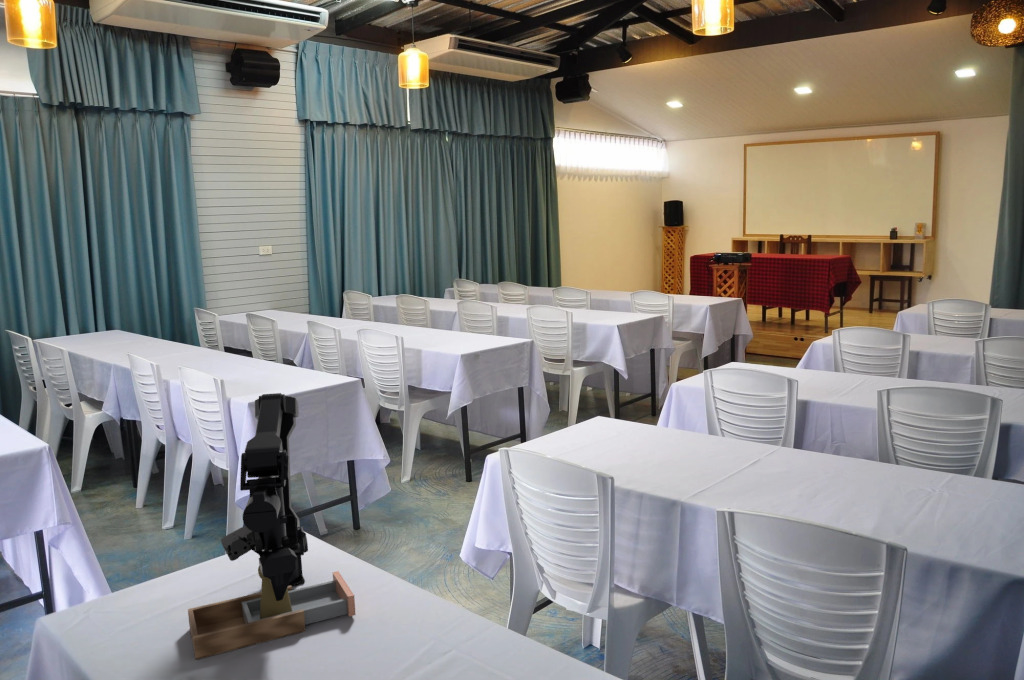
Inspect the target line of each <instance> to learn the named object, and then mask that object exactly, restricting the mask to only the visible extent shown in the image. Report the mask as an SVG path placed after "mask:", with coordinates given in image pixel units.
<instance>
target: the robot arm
mask: <svg viewBox="0 0 1024 680" xmlns="http://www.w3.org/2000/svg"><path fill="white" fill-rule="evenodd" d="M297 418H299V403H298V400H297V398H296V397H294V396H290V395H289V396H288V395H286V394H285V393H281V392H277V393H264V394H261V395H259V396H258V398H257V399H255V400H254V419H256V420H257V423H256V428H255V436H254V437H252V438H250V439H249V440H248V441H246V445H245V449H244V452H242V453H241V456H240V485H239V489H240V491H249V497H248V500H247V501H246V505H245V507H244V510H243V513H242V522H243V524H244V525H245V526H242V527H240V528H238V529H235V530H234V531H231V532H230V533H228V534H227V535H225V536H222V538H221V539H220V542H221V545H222V548H223V549H224V551H225V554H227V555H226V556H227V557H228V559H229V560H230V561H232V562H234V561H236V560H238V559H239V558H240V557H242V556H243V555H245V554H247V553H248V552H250V551H253V552H254V553H256V554H257V555H258V556H259V558H258V567H259V566H260V571H261V573H262V575H263V576H264V577H267V578H269V579H270V581H271V584H272V588H273V591H274V595H275V598H276V601H280V600H282V599H283V597H284V595H285V592H286V590H287V587H288V586H290V585H291V586H295V585H300V584H304V583H305V582H306V580H305V578H304V576H303V563H302V556H304V555H305V554H306V552H309V545H308V537H307V533H306V532H305V531H304V528H303V526H300V525H301V524H300V517H299V516H298V515H297V514H296V512H295V510H294V509H293V508H292V491H291V487H292V486H291V463H290V462H291V461H290V438H291V436H292V434H293V432H294V430H295V428H296V426H297V421H296V420H297ZM247 478H248V479H247Z"/></svg>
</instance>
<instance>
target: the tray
mask: <svg viewBox="0 0 1024 680" xmlns="http://www.w3.org/2000/svg"><path fill="white" fill-rule="evenodd" d="M288 593H289V598H290V602H291V607H292V612H294V611H298V610H302V609H303V610H304V619H305V625H309V624H312V623H317V622H321V621H325V620H329V619H332V618H336V617H340V616H344V615H348V617H352V616H356V603H355V601H356V600H355V594H354V593H353V591H352V590H351V588H350V586H349V585H348V583H347V582H346V580H345V579H344V577H343V576H342V574H341V573H340V571H339V570H338V571H334V572H332V580H330V581H326V582H321V583H318V584H317V583H316V584H314V585H308V586H306V587H304V586H303V587H300V588H297V589H292V590H291V591H288ZM260 604H261V598H257V599H253V600H248V601H244V602H242V613H243V618H244V621H245V624H246V623H250V622H254V621H258V620H262V619H260ZM288 613H290V612H288ZM284 614H286V613H284ZM280 615H282V614H280ZM276 616H278V615H276ZM272 617H274V616H272ZM268 618H270V617H268ZM263 619H266V618H263Z"/></svg>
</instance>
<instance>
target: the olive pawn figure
mask: <svg viewBox="0 0 1024 680" xmlns="http://www.w3.org/2000/svg"><path fill="white" fill-rule="evenodd" d="M257 571H258V572H257V574H258V576H259V578H260V579H261V588H260V591H261V604H260V619H263V618H268V617H272V616H276V615H280V614H284V613H288V612H292V607H291V602H290V598H289V593H288V589H287V590H286V592H285V595H284V597H283V599H282V600H280V601H276V598H275V595H274V591H273V588H272V584H271V581H270V579H269V578H267V577H264V576H263V575H262V573H261V571H260V566H259V565H258V568H257Z"/></svg>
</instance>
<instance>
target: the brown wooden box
mask: <svg viewBox="0 0 1024 680" xmlns="http://www.w3.org/2000/svg"><path fill="white" fill-rule="evenodd" d="M292 586H293V585H292ZM292 586H291V585H290V586H288V587H287V589H288V591H291V590H293V587H292ZM257 598H261V592H260V591H259V592H257V593H253V594H252V593H251V594H247V595H243V596H238V597H235V598H231V599H227V600H226V599H225V600H221V601H217V602H213V603H208V604H205V605H201V606H195V607H192V608H191V607H190V608H187V614H188V624H189V625H188V627H189V633H190V637H191V643H192V648H193V653H194V656H195V660H197V661H198V660H200V659H204V658H208V657H211V656H215V655H219V654H220V655H221V654H224V653H227V652H231V651H235V650H238V649H243V648H247V647H251V646H254V645H257V644H258V645H259V644H262V643H265V642H269V641H273V640H276V639H282V638H284V637H285V638H286V637H289V636H293V635H297V634H300V633H305V632H306V624H305V619H304V610H303V609H302V610H298V611H294V612H290V613H286V614H282V615H278V616H274V617H270V618H266V619H262V620H258V621H254V622H250V623H246V624H245V621H244V618H243V613H242V602H244V601H248V600H253V599H257Z"/></svg>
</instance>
